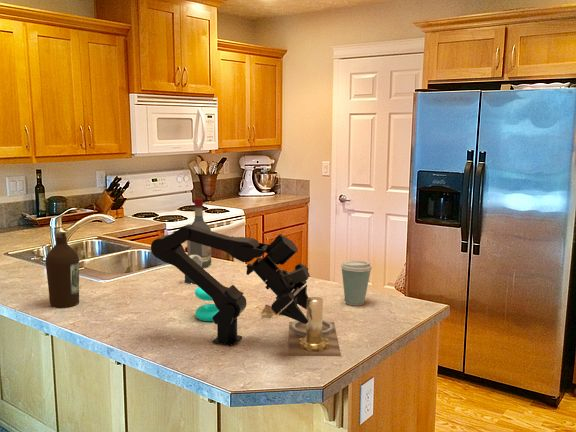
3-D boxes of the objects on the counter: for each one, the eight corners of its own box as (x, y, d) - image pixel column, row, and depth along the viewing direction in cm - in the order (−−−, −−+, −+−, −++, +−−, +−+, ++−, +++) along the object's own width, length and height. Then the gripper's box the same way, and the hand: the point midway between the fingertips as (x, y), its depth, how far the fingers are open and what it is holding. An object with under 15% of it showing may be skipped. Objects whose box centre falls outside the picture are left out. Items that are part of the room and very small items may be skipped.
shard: (265, 308, 188) (265, 303, 188) (287, 309, 187) (287, 304, 187) (260, 318, 178) (260, 313, 178) (283, 320, 177) (283, 314, 177)
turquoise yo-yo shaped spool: (230, 289, 174) (199, 293, 170) (230, 320, 175) (199, 324, 171) (221, 281, 183) (191, 284, 179) (221, 310, 184) (192, 314, 180)
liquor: (186, 267, 240) (184, 199, 236) (193, 262, 249) (192, 197, 245) (206, 268, 239) (205, 200, 234) (212, 263, 248) (211, 198, 243)
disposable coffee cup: (333, 303, 193) (334, 261, 191) (352, 296, 201) (353, 256, 199) (358, 310, 186) (359, 267, 184) (376, 302, 194) (377, 261, 192)
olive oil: (42, 308, 184) (38, 235, 180) (55, 299, 195) (51, 229, 191) (75, 308, 184) (71, 235, 181) (85, 299, 195) (82, 230, 191)
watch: (205, 280, 220) (205, 253, 219) (193, 285, 213) (193, 257, 212) (194, 278, 223) (193, 252, 221) (181, 283, 216) (181, 256, 214)
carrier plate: (341, 359, 146) (341, 351, 145) (288, 359, 146) (288, 351, 145) (333, 325, 171) (334, 318, 171) (289, 324, 171) (289, 317, 171)
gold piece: (324, 354, 147) (325, 305, 144) (294, 349, 149) (295, 301, 147) (332, 343, 154) (333, 296, 152) (304, 338, 157) (305, 293, 155)
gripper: (283, 264, 141) (325, 309, 140) (299, 249, 159) (337, 289, 158) (254, 292, 144) (294, 336, 143) (273, 274, 162) (310, 313, 161)
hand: (310, 317), depth 151 cm, fingers open, 9 cm apart
